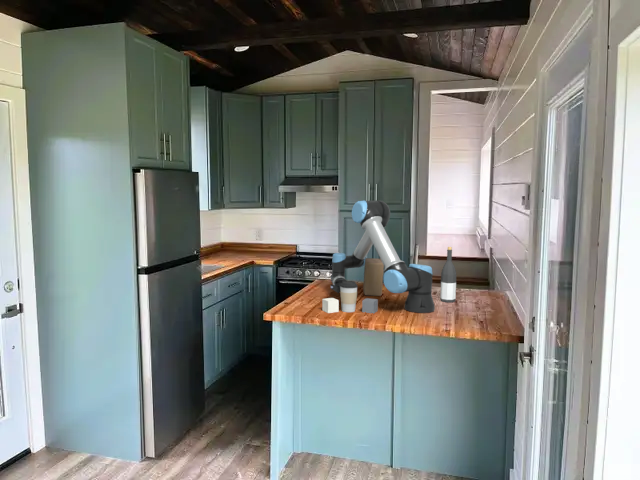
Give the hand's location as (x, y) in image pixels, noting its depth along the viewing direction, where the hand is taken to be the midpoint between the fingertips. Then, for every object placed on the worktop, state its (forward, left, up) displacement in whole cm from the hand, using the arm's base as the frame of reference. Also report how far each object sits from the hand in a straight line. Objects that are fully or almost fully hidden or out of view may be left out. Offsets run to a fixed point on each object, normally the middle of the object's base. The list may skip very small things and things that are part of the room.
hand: (346, 294), depth 246 cm
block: (+9, -36, -7) cm, 38 cm away
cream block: (+2, +10, -7) cm, 13 cm away
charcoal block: (-13, -3, -7) cm, 15 cm away
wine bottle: (-31, -51, -8) cm, 60 cm away
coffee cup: (-4, +3, -8) cm, 9 cm away
